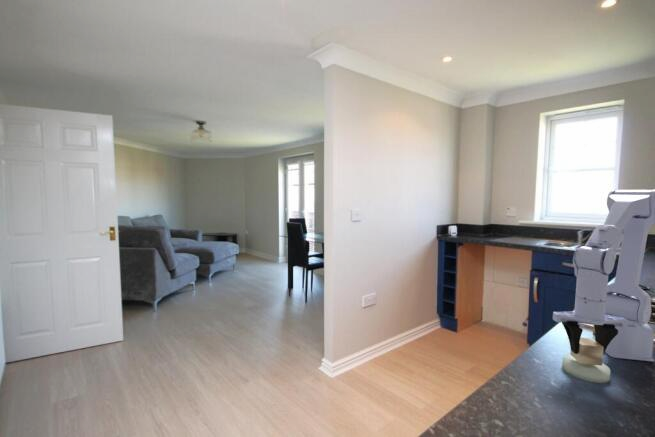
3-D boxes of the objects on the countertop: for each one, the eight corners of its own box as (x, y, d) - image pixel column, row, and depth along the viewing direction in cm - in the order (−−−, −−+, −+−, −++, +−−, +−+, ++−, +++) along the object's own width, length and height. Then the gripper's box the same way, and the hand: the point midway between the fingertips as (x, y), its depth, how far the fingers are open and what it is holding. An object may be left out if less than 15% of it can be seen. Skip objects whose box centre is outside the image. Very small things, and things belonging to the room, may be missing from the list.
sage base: (596, 365, 82) (596, 357, 82) (619, 385, 73) (619, 376, 73) (555, 360, 84) (556, 353, 84) (573, 380, 75) (573, 371, 75)
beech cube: (591, 356, 80) (592, 338, 80) (602, 365, 76) (603, 346, 76) (570, 354, 81) (571, 336, 81) (580, 363, 77) (581, 344, 77)
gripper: (563, 300, 75) (560, 357, 76) (638, 305, 72) (633, 365, 73) (550, 291, 82) (547, 344, 83) (618, 296, 79) (613, 350, 80)
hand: (586, 353), depth 78 cm, fingers closed on beech cube, 4 cm apart
